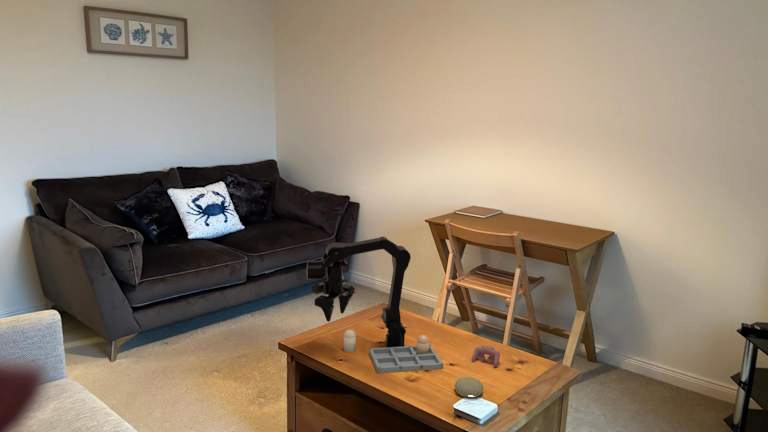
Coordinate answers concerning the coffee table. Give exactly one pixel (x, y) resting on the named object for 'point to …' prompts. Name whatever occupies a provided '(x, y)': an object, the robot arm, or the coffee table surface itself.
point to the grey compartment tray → (404, 359)
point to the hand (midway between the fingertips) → (335, 317)
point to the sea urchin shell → (468, 386)
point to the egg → (349, 341)
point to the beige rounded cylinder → (422, 345)
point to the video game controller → (489, 351)
